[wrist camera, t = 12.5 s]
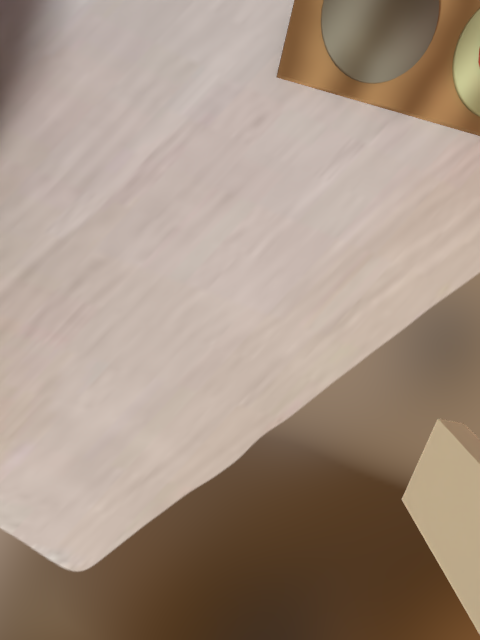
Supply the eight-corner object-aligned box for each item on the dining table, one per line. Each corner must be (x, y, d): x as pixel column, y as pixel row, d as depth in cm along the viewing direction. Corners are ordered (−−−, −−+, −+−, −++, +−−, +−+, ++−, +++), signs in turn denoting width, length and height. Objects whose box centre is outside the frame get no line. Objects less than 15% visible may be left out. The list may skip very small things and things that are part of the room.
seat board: (276, 77, 36) (279, 72, 35) (316, -93, 32) (321, -106, 31) (538, 152, 40) (550, 151, 38) (601, 7, 36) (618, -1, 34)
